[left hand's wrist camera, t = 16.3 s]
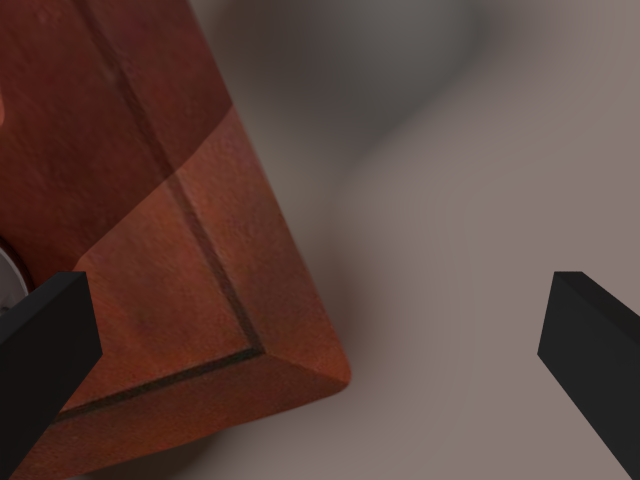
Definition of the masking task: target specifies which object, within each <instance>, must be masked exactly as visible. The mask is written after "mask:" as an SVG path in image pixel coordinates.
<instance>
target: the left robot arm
mask: <svg viewBox="0 0 640 480" xmlns="http://www.w3.org/2000/svg"><path fill="white" fill-rule="evenodd" d="M102 355H103V353H102V348H101V343H100V339H99V334H98V329H97V324H96V319H95V314H94V310H93V305H92V300H91V295H90V290H89V285H88V281H87V276H86V272H57V273H56V274H54V275H53V276H52V277H51V278H49V279H48V280H47V281H45V282H44V283H43V284H42V285H40V286H39V287H38V288H36V289H35V290H34V286H33V283H32V280H31V277H30V275H29V273H28V271H27V269H26V267H25V265H24V264H23V262H22V261H21V259H20V258H19V257H18V255H17V254H16V253H15V252H14V250H13V249H12V248H11V247H10V246H9V245H8V244H7V243H6V242H5V241H4V240H3V239H2V238H0V480H8V479H9V477H10V476H11V475H12V473H13V472H14V471H15V469H16V468H17V467H18V465H19V464H20V463H21V461H22V460H23V459H24V458H25V456H26V455H27V454H28V452H29V451H30V450H31V448H32V447H33V446H34V444H35V443H36V442H37V440H38V439H39V438H40V436H41V435H42V434H43V433H44V431H45V430H46V429H47V427H48V426H49V425H50V423H51V422H52V421H53V419H54V418H55V417H56V415H57V414H58V413H59V411H60V410H61V409H62V407H63V406H64V405H65V404H66V402H67V401H68V400H69V398H70V397H71V396H72V394H73V393H74V392H75V390H76V389H77V388H78V386H79V385H80V384H81V382H82V381H83V380H84V379H85V377H86V376H87V375H88V373H89V372H90V371H91V369H92V368H93V367H94V365H95V364H96V363H97V361H98V360H99V359H100V357H101V356H102ZM537 355H538V356H539V357H540V359H541V360H542V361H543V363H544V364H545V365H546V367H547V368H548V369H549V371H550V372H551V373H552V375H553V376H554V377H555V378H556V380H557V381H558V382H559V384H560V385H561V386H562V388H563V389H564V390H565V392H566V393H567V394H568V396H569V397H570V398H571V400H572V401H573V402H574V404H575V405H576V406H577V407H578V409H579V410H580V411H581V413H582V414H583V415H584V417H585V418H586V419H587V421H588V422H589V423H590V425H591V426H592V427H593V429H594V430H595V431H596V433H597V434H598V435H599V436H600V438H601V439H602V440H603V442H604V443H605V444H606V446H607V447H608V448H609V450H610V451H611V452H612V454H613V455H614V456H615V458H616V459H617V460H618V461H619V463H620V464H621V465H622V467H623V468H624V469H625V471H626V472H627V473H628V475H629V476H630V477H631V479H632V480H640V316H638V315H637V314H636V313H634V312H633V311H632V310H631V309H629V308H628V307H627V306H625V305H624V304H623V303H621V302H620V301H619V300H618V299H616V298H615V297H614V296H613V295H611V294H610V293H609V292H607V291H606V290H605V289H604V288H602V287H601V286H600V285H598V284H597V283H596V282H595V281H593V280H592V279H591V278H589V277H588V276H587V275H586V274H584V273H583V272H554V276H553V281H552V286H551V290H550V295H549V300H548V305H547V310H546V314H545V319H544V324H543V329H542V334H541V339H540V343H539V348H538V353H537Z"/></svg>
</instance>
